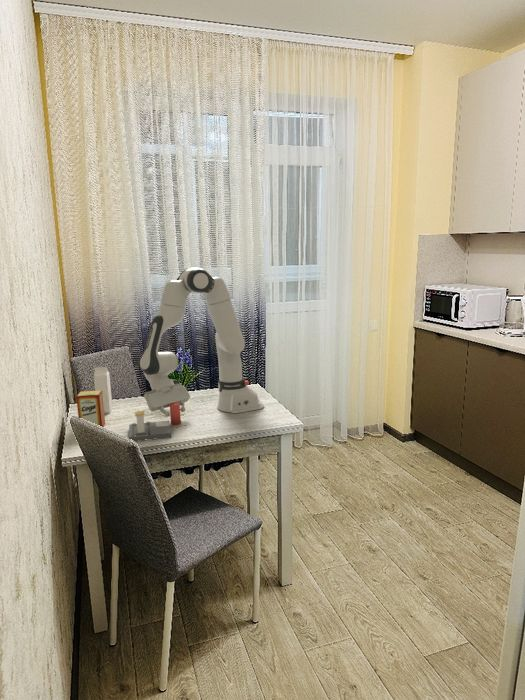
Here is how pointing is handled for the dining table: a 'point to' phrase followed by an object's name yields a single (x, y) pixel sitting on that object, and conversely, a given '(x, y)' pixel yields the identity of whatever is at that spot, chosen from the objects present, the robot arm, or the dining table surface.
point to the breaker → (140, 423)
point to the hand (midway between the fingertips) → (176, 413)
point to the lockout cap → (175, 414)
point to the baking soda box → (91, 407)
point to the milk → (103, 386)
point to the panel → (151, 430)
